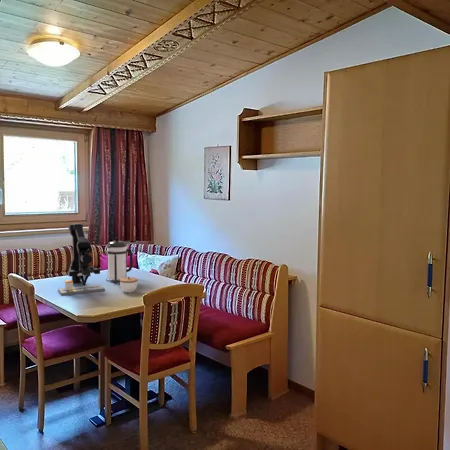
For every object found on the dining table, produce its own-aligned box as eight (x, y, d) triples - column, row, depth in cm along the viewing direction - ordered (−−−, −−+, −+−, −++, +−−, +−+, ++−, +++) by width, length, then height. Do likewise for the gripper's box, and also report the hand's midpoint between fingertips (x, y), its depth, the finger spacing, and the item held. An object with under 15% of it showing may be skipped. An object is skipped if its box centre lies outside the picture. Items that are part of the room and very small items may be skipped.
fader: (64, 288, 282) (64, 280, 281) (71, 288, 284) (71, 279, 283) (66, 290, 278) (65, 281, 277) (73, 289, 280) (73, 281, 280)
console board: (57, 290, 283) (57, 288, 283) (99, 286, 296) (99, 283, 296) (61, 295, 273) (61, 292, 273) (104, 290, 286) (104, 288, 286)
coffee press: (127, 283, 306) (126, 239, 303) (103, 282, 306) (102, 238, 303) (132, 277, 323) (132, 235, 320) (110, 277, 323) (110, 235, 320)
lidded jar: (141, 290, 287) (141, 276, 286) (129, 294, 278) (128, 279, 277) (128, 288, 293) (128, 274, 292) (116, 291, 284) (116, 277, 283)
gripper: (70, 264, 272) (71, 290, 274) (102, 262, 281) (102, 286, 283) (67, 261, 282) (67, 286, 283) (97, 259, 291) (98, 283, 292)
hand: (84, 285), depth 285 cm, fingers closed
